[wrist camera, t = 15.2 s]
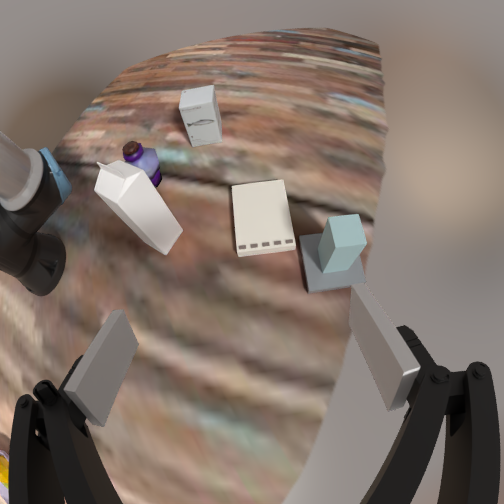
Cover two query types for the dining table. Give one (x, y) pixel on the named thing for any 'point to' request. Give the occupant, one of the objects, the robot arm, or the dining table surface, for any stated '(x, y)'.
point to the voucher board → (262, 218)
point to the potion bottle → (143, 160)
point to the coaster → (314, 270)
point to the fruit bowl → (4, 475)
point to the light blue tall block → (341, 243)
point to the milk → (138, 204)
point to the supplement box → (201, 115)
